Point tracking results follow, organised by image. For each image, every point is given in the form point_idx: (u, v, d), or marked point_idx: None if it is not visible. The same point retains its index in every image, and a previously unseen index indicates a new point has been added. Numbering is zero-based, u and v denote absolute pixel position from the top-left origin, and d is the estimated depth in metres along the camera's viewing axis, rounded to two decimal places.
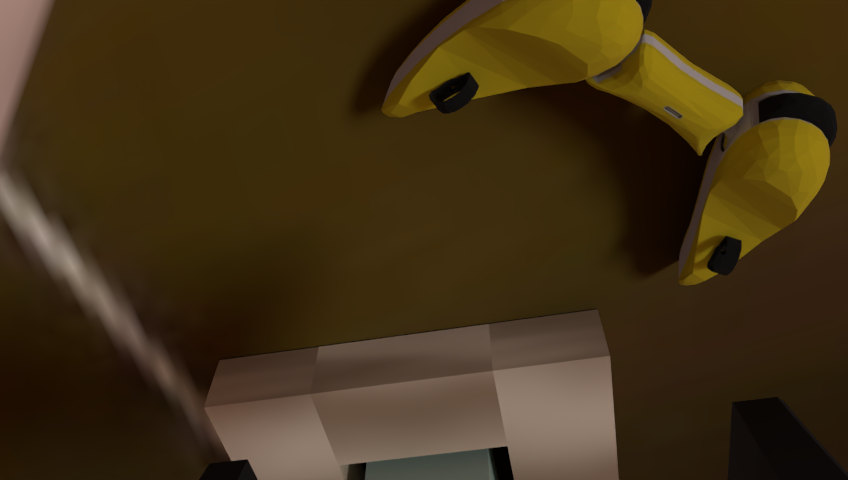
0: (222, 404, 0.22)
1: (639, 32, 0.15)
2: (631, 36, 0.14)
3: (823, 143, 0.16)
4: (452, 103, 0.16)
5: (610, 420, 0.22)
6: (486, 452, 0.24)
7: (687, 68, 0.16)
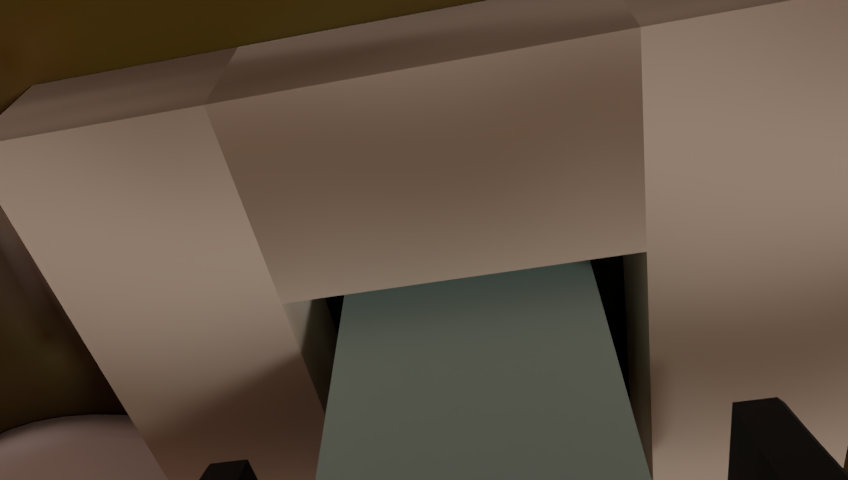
0: (7, 139, 0.10)
1: None
2: None
3: None
4: None
5: None
6: (592, 279, 0.11)
7: None
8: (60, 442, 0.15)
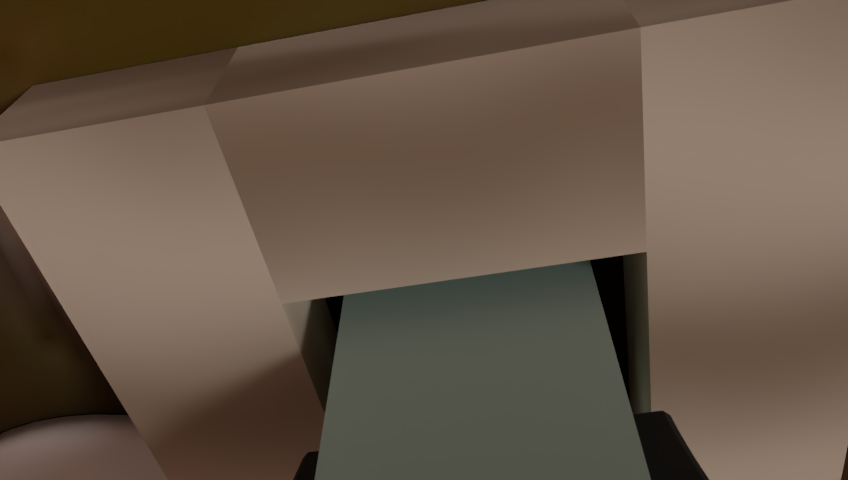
0: (7, 139, 0.10)
1: None
2: None
3: None
4: None
5: None
6: (593, 280, 0.11)
7: None
8: (60, 442, 0.15)
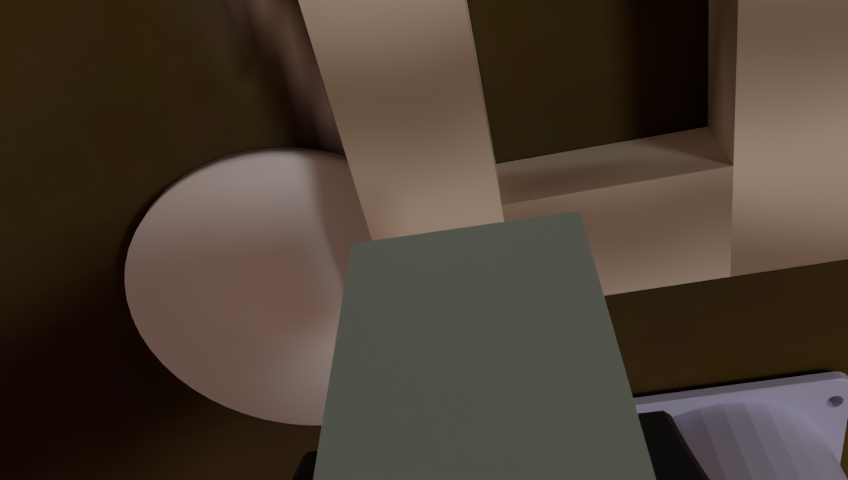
0: None
1: None
2: None
3: None
4: None
5: None
6: (594, 270, 0.11)
7: None
8: (248, 165, 0.19)
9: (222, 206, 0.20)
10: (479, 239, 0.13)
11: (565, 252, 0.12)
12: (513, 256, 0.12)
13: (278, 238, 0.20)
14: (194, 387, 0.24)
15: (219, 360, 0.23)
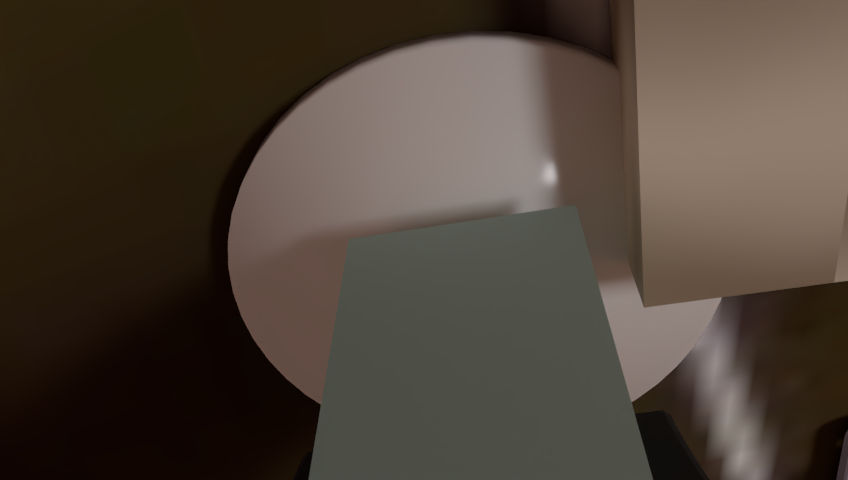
0: None
1: None
2: None
3: None
4: None
5: None
6: (589, 263, 0.11)
7: None
8: (440, 55, 0.12)
9: (390, 121, 0.13)
10: (475, 233, 0.13)
11: (561, 245, 0.12)
12: (509, 249, 0.12)
13: (466, 174, 0.14)
14: (307, 392, 0.17)
15: None
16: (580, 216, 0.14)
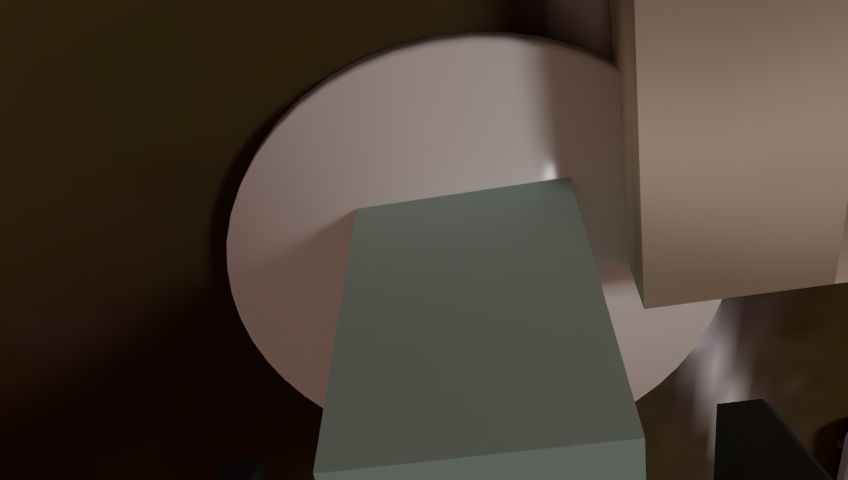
0: None
1: None
2: None
3: None
4: None
5: None
6: (582, 228, 0.12)
7: None
8: (440, 56, 0.12)
9: (390, 122, 0.13)
10: (476, 203, 0.14)
11: (556, 213, 0.13)
12: (507, 217, 0.13)
13: (465, 175, 0.14)
14: (306, 393, 0.17)
15: None
16: None
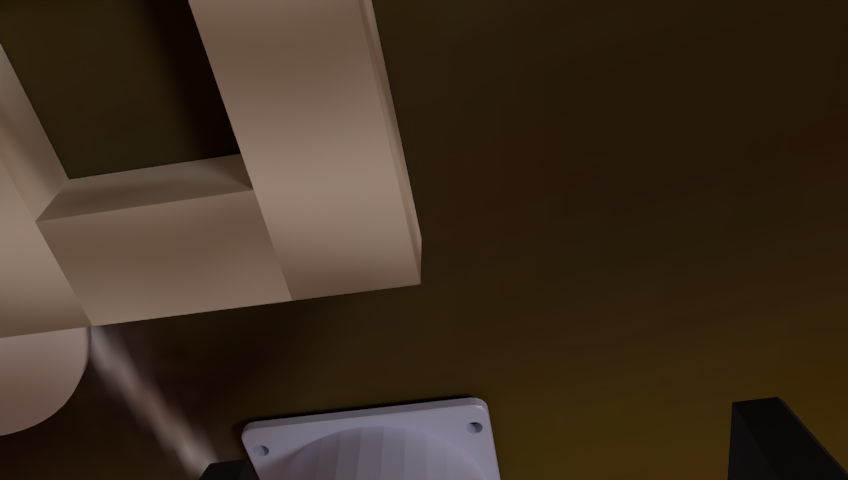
0: None
1: None
2: None
3: None
4: None
5: None
6: None
7: None
8: None
9: None
10: None
11: None
12: None
13: None
14: None
15: None
16: None
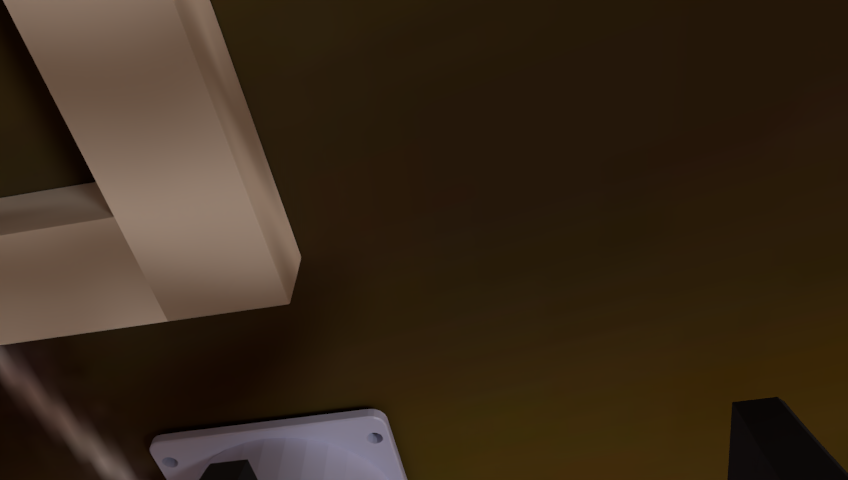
0: None
1: None
2: None
3: None
4: None
5: None
6: None
7: None
8: None
9: None
10: None
11: None
12: None
13: None
14: None
15: None
16: None
